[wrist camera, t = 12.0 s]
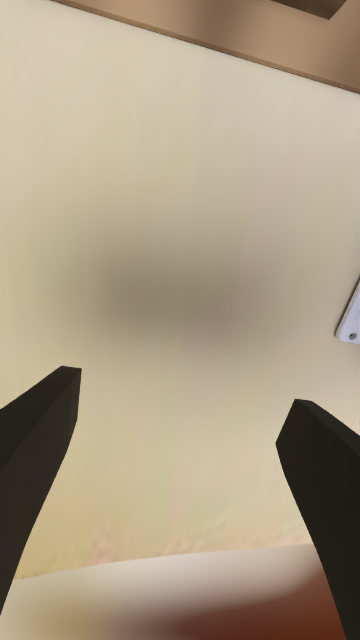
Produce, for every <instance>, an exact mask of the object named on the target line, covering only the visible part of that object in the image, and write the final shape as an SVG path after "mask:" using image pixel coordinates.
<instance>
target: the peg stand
mask: <svg viewBox="0 0 360 640" xmlns="http://www.w3.org/2000/svg"><path fill="white" fill-rule="evenodd" d="M53 1H56V2H59V3H62V4H66V5H69V6H72V7H76V8H79V9H82V10H86V11H89V12H92V13H95V14H99V15H102V16H105V17H109V18H112V19H115V20H119V21H122V22H125V23H128V24H132V25H135V26H138V27H142V28H145V29H148V30H152V31H155V32H158V33H161V34H165V35H168V36H171V37H175V38H178V39H181V40H184V41H188V42H191V43H194V44H198V45H201V46H204V47H208V48H211V49H214V50H217V51H221V52H224V53H227V54H231V55H234V56H237V57H241V58H244V59H247V60H250V61H254V62H257V63H260V64H264V65H267V66H270V67H274V68H277V69H280V70H283V71H287V72H290V73H293V74H297V75H300V76H303V77H306V78H310V79H313V80H316V81H320V82H323V83H326V84H330V85H333V86H336V87H339V88H343V89H346V90H349V91H353V92H356V93H359V94H360V0H53Z"/></svg>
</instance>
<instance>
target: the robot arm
mask: <svg viewBox="0 0 360 640" xmlns="http://www.w3.org/2000/svg"><path fill="white" fill-rule="evenodd" d="M352 333H353V335H352V336H351V337H349V336H350V334H352ZM336 337H337V338H338V339H339V340H340V341H343V342H349V343H354V344H360V282H359V284H358V286H357V288H356V290H355V292H354V295H353V297H352V299H351V301H350V303H349V306H348V308H347V310H346V312H345V314H344V316H343V319H342V321H341V323H340V325H339V327H338V330H337V332H336ZM81 370H82V369H81V368H74V367H67V366H60V367H59V368H57V369H56V370H55V371H53V372H52V373H51V374H49V375H48V376H47V377H45V378H44V379H43V380H41V381H40V382H39V383H37V384H36V385H34V386H33V387H32V388H30V389H29V390H28V391H26V392H25V393H23V394H22V395H20V396H19V397H18V398H16V399H15V400H13V401H12V402H10V403H9V404H8V405H6V406H5V407H3V408H2V409H0V614H1V611H2V609H3V606H4V603H5V600H6V597H7V594H8V592H9V589H10V586H11V583H12V580H13V578H14V575H15V572H16V569H17V567H18V564H19V561H20V558H21V555H22V553H23V550H24V547H25V545H26V542H27V540H28V538H29V535H30V533H31V530H32V528H33V526H34V523H35V521H36V519H37V517H38V515H39V512H40V510H41V508H42V506H43V503H44V501H45V499H46V497H47V495H48V492H49V490H50V488H51V486H52V483H53V481H54V479H55V477H56V475H57V472H58V470H59V468H60V466H61V463H62V461H63V459H64V457H65V454H66V452H67V450H68V446H69V443H70V440H71V437H72V434H73V431H74V428H75V425H76V422H77V415H78V404H79V393H80V382H81ZM275 444H276V447H277V451H278V455H279V459H280V462H281V465H282V469H283V472H284V475H285V477H286V480H287V482H288V485H289V487H290V489H291V492H292V494H293V497H294V499H295V501H296V504H297V506H298V508H299V511H300V513H301V515H302V517H303V520H304V522H305V524H306V527H307V529H308V531H309V534H310V536H311V538H312V541H313V543H314V545H315V548H316V550H317V553H318V555H319V558H320V561H321V563H322V566H323V568H324V571H325V574H326V577H327V580H328V583H329V586H330V589H331V592H332V595H333V598H334V601H335V604H336V607H337V610H338V614H339V617H340V620H341V623H342V626H343V630H344V633H345V636H346V639H347V640H360V436H359V435H358V434H357V433H355V432H354V431H353V430H351V429H350V428H349V427H347V426H346V425H345V424H343V423H342V422H341V421H339V420H338V419H337V418H335V417H334V416H333V415H331V414H330V413H329V412H327V411H326V410H324V409H323V408H321V407H320V406H318V405H317V404H315V403H314V402H312V401H308V400H301V399H295V400H294V402H293V404H292V407H291V409H290V411H289V413H288V416H287V418H286V420H285V422H284V425H283V427H282V429H281V432H280V434H279V436H278V438H277V441H276V443H275Z"/></svg>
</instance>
